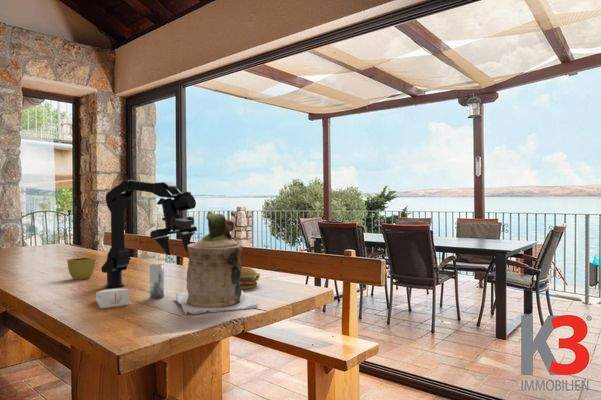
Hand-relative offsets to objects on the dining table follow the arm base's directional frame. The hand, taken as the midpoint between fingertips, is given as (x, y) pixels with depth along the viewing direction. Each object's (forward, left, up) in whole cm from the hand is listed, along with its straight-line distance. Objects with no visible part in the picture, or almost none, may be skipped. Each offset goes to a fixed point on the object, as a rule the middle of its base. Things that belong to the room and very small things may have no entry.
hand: (178, 253), depth 162 cm
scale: (+4, -24, -15) cm, 29 cm away
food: (+5, +26, -16) cm, 30 cm away
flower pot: (-51, -29, -15) cm, 61 cm away
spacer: (+5, -9, -15) cm, 18 cm away
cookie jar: (+25, +6, -16) cm, 30 cm away
